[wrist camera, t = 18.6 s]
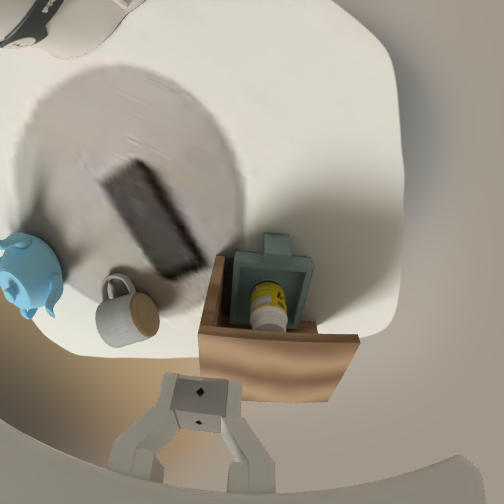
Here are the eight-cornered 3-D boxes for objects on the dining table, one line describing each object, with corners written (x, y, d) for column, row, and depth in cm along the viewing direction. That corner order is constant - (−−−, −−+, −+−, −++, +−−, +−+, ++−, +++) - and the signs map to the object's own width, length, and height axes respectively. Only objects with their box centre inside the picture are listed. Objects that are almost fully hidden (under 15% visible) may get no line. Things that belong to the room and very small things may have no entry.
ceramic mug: (167, 314, 44) (155, 349, 37) (131, 325, 46) (116, 357, 39) (131, 262, 39) (110, 294, 32) (95, 278, 41) (73, 308, 34)
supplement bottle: (288, 299, 40) (293, 343, 33) (256, 307, 41) (256, 351, 34) (279, 273, 38) (283, 316, 31) (245, 282, 39) (243, 326, 32)
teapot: (48, 303, 45) (23, 339, 36) (3, 246, 38) (-28, 276, 29) (84, 277, 41) (55, 318, 32) (31, 206, 34) (-9, 237, 25)
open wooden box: (216, 255, 38) (197, 333, 26) (332, 265, 38) (360, 342, 26) (214, 320, 44) (202, 396, 32) (313, 327, 44) (327, 402, 32)
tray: (236, 230, 36) (233, 250, 31) (315, 237, 36) (322, 258, 32) (230, 313, 43) (228, 336, 38) (295, 317, 43) (298, 341, 39)
